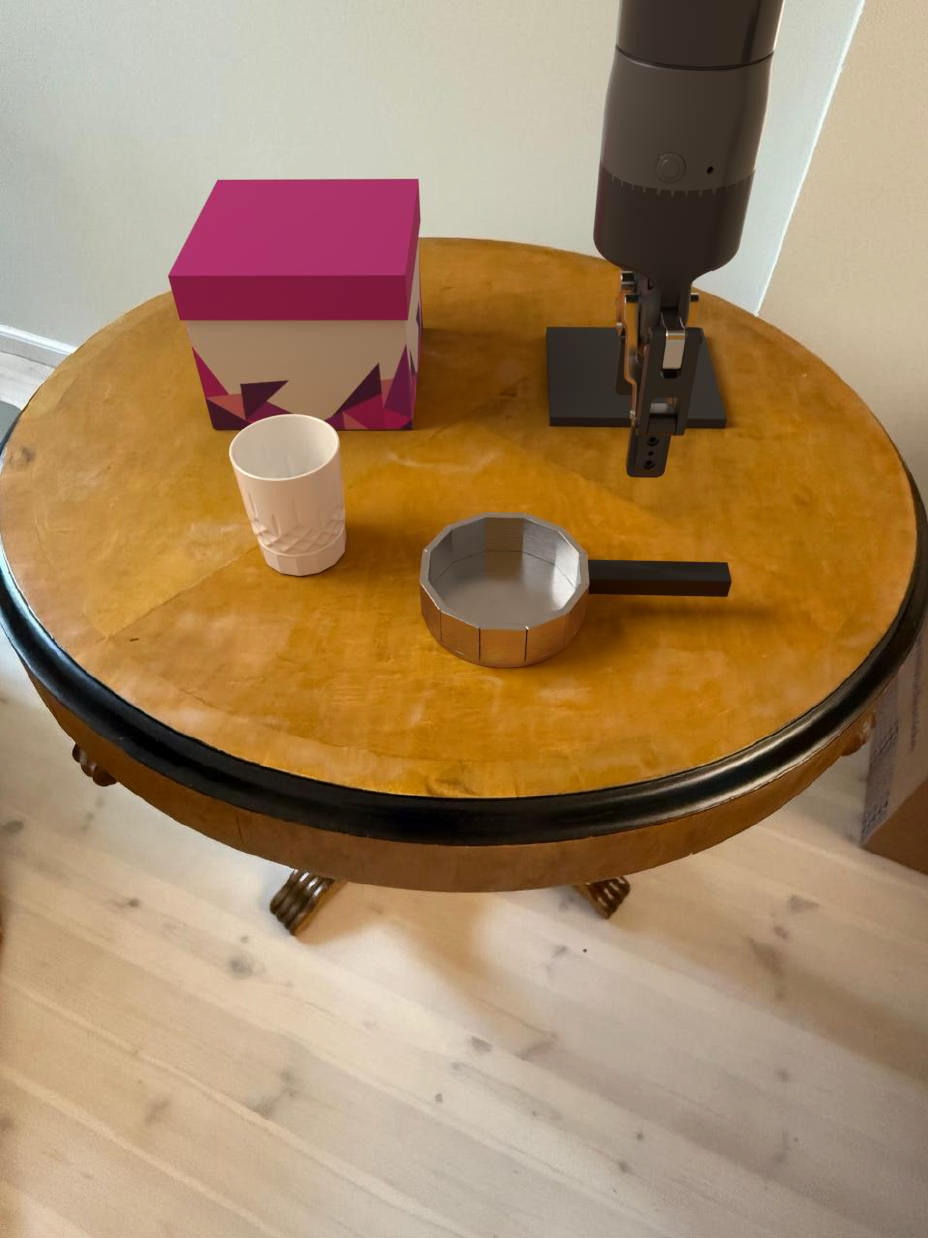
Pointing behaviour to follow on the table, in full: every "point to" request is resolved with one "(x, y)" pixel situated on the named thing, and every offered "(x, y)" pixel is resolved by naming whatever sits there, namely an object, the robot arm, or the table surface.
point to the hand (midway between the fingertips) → (637, 430)
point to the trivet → (612, 381)
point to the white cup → (292, 491)
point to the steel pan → (532, 587)
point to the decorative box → (305, 300)
